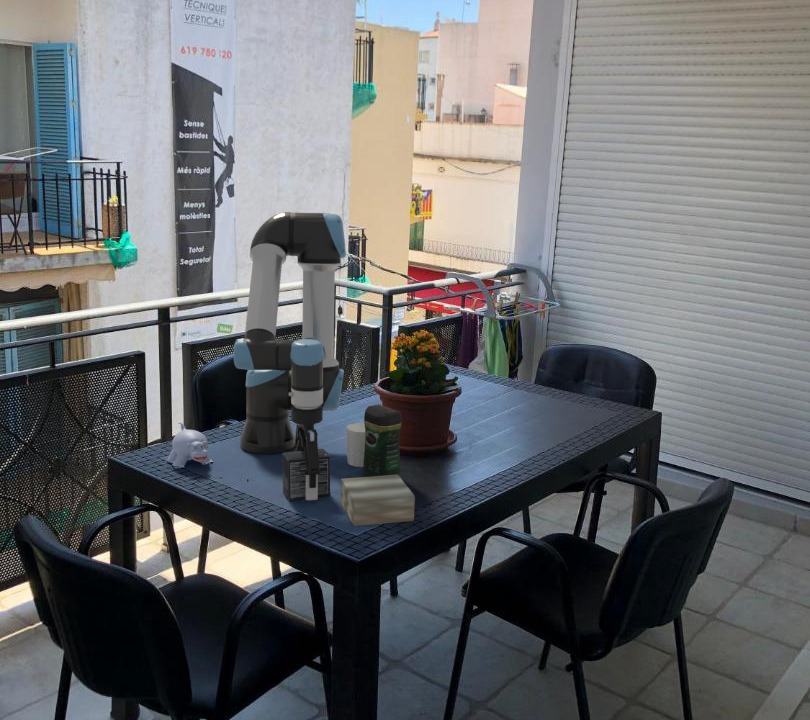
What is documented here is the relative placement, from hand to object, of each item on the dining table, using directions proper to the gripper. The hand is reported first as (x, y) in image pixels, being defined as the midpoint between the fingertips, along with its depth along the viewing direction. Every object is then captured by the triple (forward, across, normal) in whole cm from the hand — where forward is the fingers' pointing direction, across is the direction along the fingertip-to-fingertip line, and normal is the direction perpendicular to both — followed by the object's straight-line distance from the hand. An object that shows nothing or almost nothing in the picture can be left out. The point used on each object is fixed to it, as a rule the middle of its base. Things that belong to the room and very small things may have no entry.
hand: (306, 489), depth 225 cm
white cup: (+2, -19, +18) cm, 26 cm away
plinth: (+1, +14, +14) cm, 20 cm away
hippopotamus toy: (+2, -27, -26) cm, 37 cm away
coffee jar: (+2, -8, +21) cm, 23 cm away
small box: (+2, 0, 0) cm, 2 cm away
